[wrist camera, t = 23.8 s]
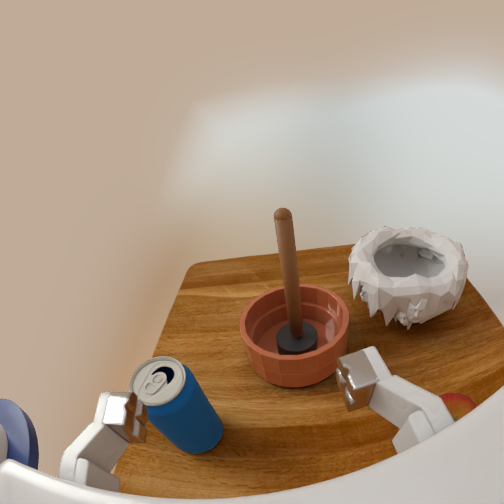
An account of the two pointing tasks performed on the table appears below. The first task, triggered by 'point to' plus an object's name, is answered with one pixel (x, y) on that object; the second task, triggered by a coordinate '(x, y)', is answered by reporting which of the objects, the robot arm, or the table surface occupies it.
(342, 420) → the table surface
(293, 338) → the plunger
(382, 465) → the robot arm
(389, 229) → the bowl
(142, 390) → the beverage can
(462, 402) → the apple
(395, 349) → the table surface
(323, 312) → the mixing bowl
